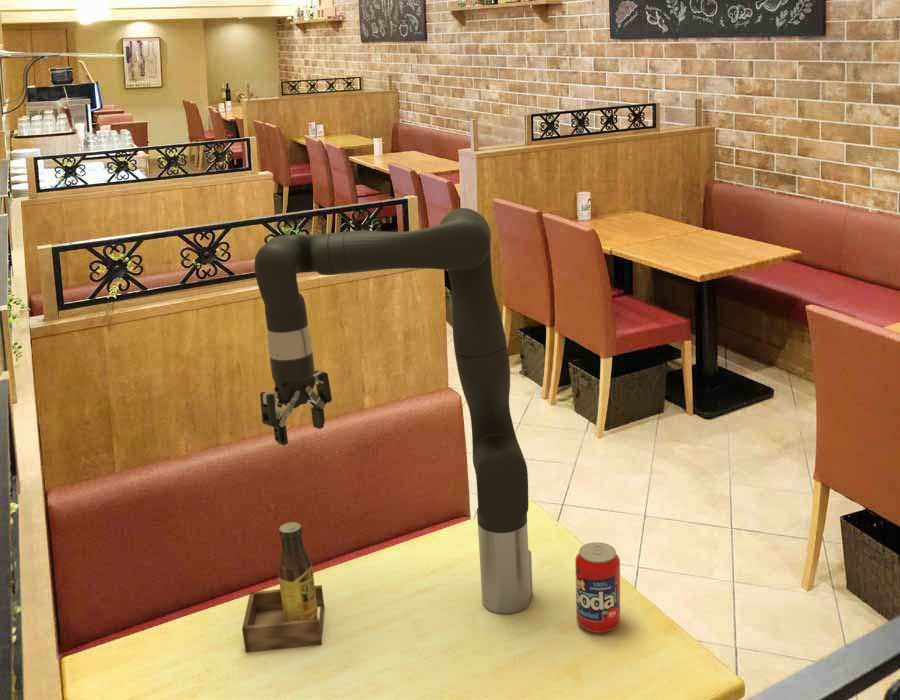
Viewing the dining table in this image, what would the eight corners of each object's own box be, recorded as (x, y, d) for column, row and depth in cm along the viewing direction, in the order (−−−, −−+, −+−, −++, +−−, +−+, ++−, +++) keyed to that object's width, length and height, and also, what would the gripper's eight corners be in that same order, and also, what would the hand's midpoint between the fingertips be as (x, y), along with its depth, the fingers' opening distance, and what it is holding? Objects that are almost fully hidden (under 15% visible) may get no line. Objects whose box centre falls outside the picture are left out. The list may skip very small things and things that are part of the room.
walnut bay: (324, 607, 178) (321, 585, 176) (321, 644, 167) (318, 621, 165) (253, 614, 177) (250, 592, 175) (245, 652, 166) (242, 628, 165)
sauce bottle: (312, 633, 168) (299, 538, 162) (280, 631, 170) (266, 536, 163) (323, 612, 174) (312, 519, 168) (292, 610, 176) (279, 518, 169)
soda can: (623, 613, 170) (623, 542, 165) (616, 639, 163) (616, 565, 158) (581, 607, 173) (579, 537, 168) (572, 632, 166) (571, 560, 161)
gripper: (272, 367, 154) (284, 455, 159) (335, 343, 164) (344, 426, 169) (244, 359, 159) (256, 445, 164) (307, 336, 169) (316, 418, 174)
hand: (301, 435), depth 167 cm, fingers open, 8 cm apart
